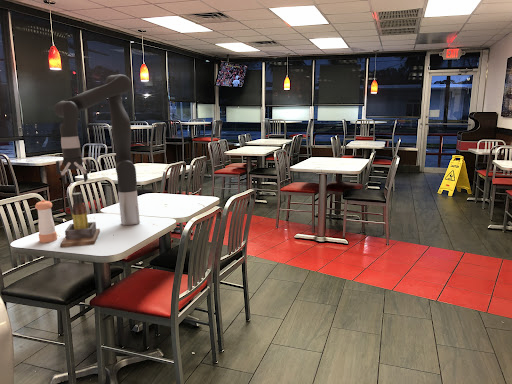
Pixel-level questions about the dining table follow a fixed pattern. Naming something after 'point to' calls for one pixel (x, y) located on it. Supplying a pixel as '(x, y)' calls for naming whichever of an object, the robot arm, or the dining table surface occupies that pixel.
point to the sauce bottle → (79, 212)
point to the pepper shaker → (46, 222)
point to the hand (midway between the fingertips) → (75, 182)
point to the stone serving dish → (80, 235)
